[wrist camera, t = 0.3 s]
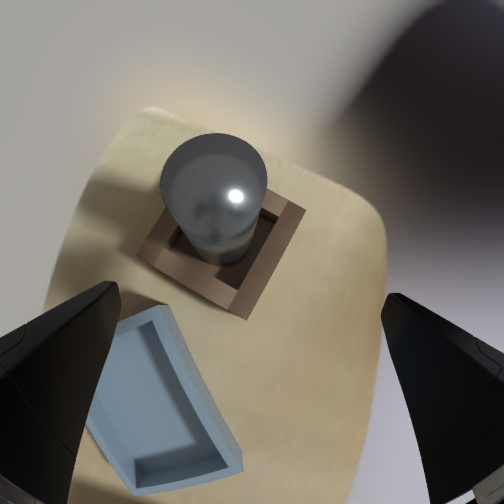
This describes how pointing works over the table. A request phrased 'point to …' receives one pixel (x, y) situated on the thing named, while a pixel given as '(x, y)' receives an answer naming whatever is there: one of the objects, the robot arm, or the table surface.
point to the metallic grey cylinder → (215, 195)
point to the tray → (158, 410)
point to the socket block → (231, 277)
